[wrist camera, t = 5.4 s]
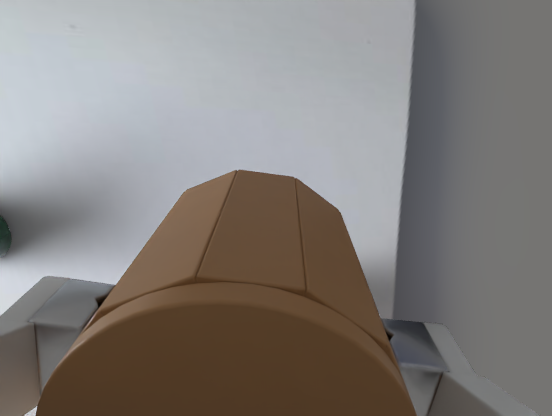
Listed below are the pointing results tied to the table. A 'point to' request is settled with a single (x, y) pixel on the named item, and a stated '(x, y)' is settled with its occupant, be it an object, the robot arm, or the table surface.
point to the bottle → (4, 237)
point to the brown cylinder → (236, 316)
